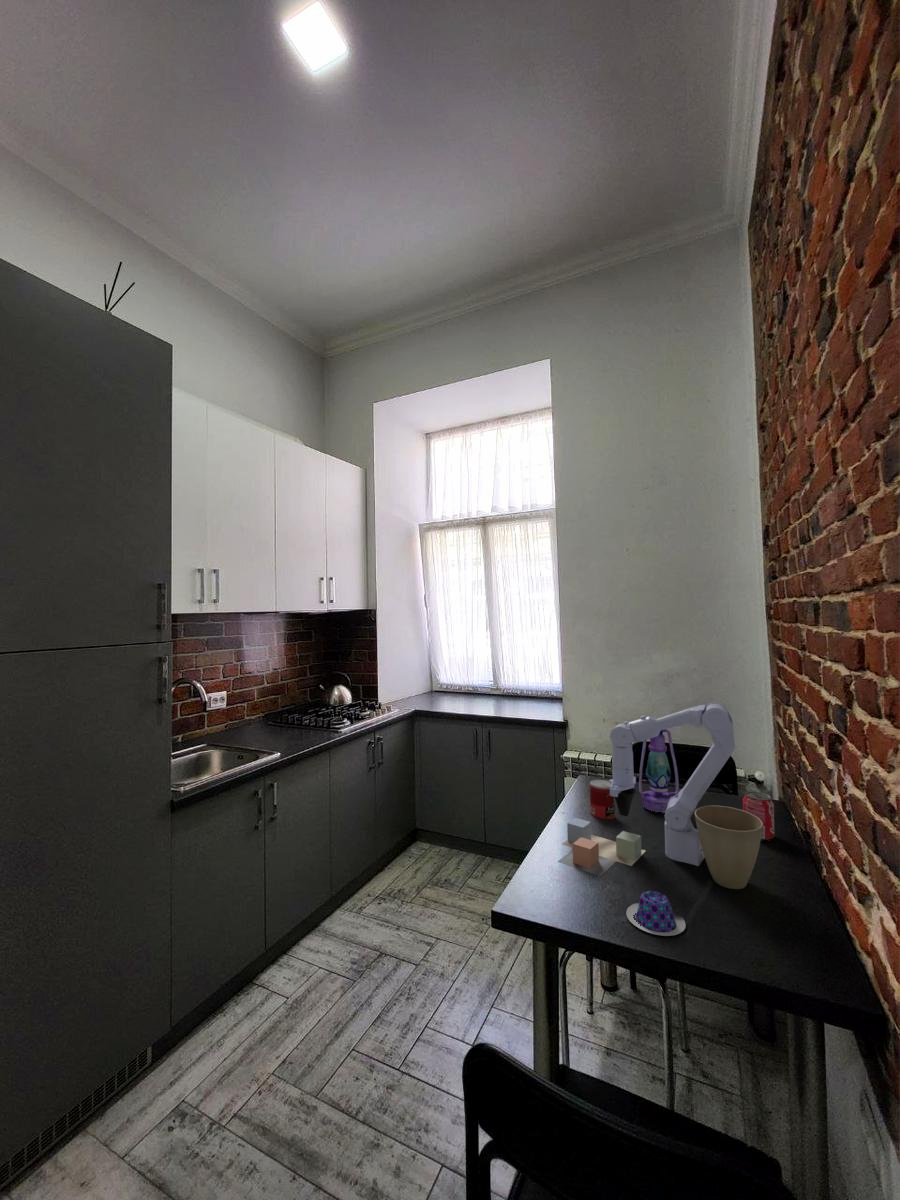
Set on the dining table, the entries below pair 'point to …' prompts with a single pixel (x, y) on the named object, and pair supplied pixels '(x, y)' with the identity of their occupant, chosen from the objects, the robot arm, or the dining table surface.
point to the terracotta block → (585, 852)
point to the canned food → (601, 799)
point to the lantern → (658, 774)
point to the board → (605, 856)
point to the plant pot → (729, 843)
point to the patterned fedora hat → (655, 915)
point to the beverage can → (761, 811)
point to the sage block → (628, 845)
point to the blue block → (578, 829)
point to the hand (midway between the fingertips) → (624, 814)
